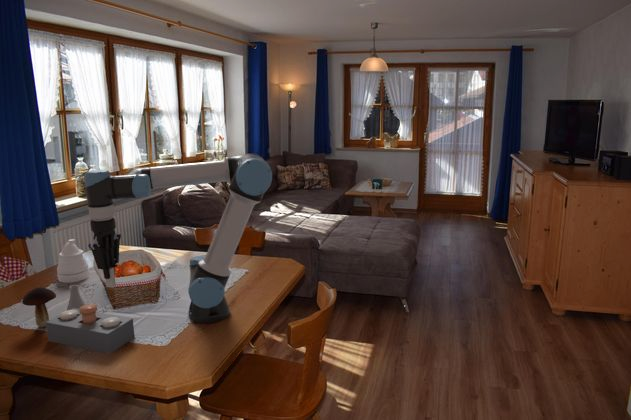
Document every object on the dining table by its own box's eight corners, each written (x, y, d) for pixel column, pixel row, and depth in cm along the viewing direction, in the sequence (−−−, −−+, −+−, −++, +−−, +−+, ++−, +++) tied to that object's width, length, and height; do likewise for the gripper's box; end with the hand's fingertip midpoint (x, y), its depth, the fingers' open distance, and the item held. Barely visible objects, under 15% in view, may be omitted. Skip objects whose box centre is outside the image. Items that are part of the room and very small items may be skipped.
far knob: (83, 331, 183) (81, 311, 182) (71, 338, 178) (68, 317, 176) (71, 329, 185) (68, 308, 183) (58, 336, 180) (55, 315, 178)
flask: (79, 315, 198) (76, 290, 196) (62, 313, 199) (59, 289, 197) (91, 307, 205) (88, 283, 202) (74, 306, 206) (71, 282, 204)
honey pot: (95, 275, 239) (90, 237, 235) (69, 284, 229) (64, 245, 225) (78, 270, 246) (73, 233, 242) (52, 279, 236) (46, 240, 231)
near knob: (125, 339, 177) (123, 318, 176) (113, 346, 172) (111, 325, 170) (112, 336, 179) (109, 316, 177) (100, 344, 174) (97, 323, 172)
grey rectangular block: (134, 337, 180) (132, 318, 178) (110, 353, 169) (107, 333, 167) (75, 326, 189) (73, 308, 187) (48, 341, 178) (45, 322, 176)
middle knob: (103, 326, 180) (100, 305, 178) (91, 333, 174) (88, 311, 173) (90, 323, 181) (87, 303, 180) (77, 330, 176) (75, 309, 175)
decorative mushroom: (37, 336, 181) (31, 296, 178) (19, 328, 187) (13, 289, 184) (66, 324, 190) (61, 285, 187) (48, 317, 196) (43, 280, 193)
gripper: (106, 212, 175) (114, 278, 181) (78, 222, 163) (87, 292, 169) (125, 213, 173) (133, 280, 178) (97, 223, 161) (107, 295, 167)
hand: (111, 286), depth 174 cm, fingers closed
